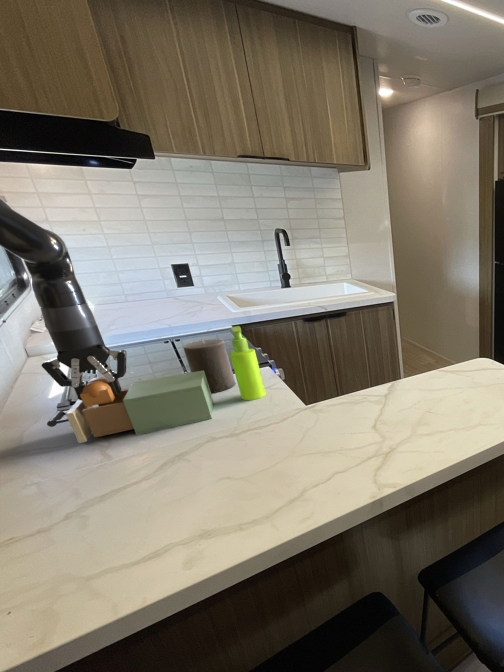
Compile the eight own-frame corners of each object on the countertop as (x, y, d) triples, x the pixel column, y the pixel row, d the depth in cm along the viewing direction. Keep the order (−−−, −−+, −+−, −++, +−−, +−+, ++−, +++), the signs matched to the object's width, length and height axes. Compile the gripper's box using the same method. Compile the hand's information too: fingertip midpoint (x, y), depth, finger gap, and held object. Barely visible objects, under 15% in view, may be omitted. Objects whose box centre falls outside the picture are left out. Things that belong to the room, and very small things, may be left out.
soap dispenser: (243, 403, 108) (223, 331, 101) (240, 395, 114) (221, 326, 106) (267, 397, 111) (250, 327, 104) (264, 390, 117) (247, 323, 110)
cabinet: (136, 435, 93) (122, 400, 90) (145, 414, 103) (133, 382, 100) (211, 418, 100) (201, 385, 97) (213, 400, 110) (203, 370, 107)
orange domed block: (84, 407, 89) (76, 387, 87) (93, 396, 95) (85, 377, 93) (112, 402, 91) (104, 382, 89) (119, 391, 97) (112, 372, 95)
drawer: (51, 449, 86) (36, 419, 83) (68, 427, 95) (56, 400, 93) (156, 426, 95) (146, 398, 92) (162, 408, 104) (153, 383, 102)
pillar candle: (222, 393, 115) (207, 343, 110) (189, 394, 115) (172, 344, 110) (243, 380, 124) (230, 334, 119) (212, 381, 125) (198, 334, 119)
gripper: (119, 318, 93) (144, 386, 99) (32, 327, 86) (64, 400, 92) (112, 324, 87) (139, 396, 93) (17, 334, 80) (53, 411, 86)
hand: (102, 397), depth 93 cm, fingers closed on orange domed block, 4 cm apart
